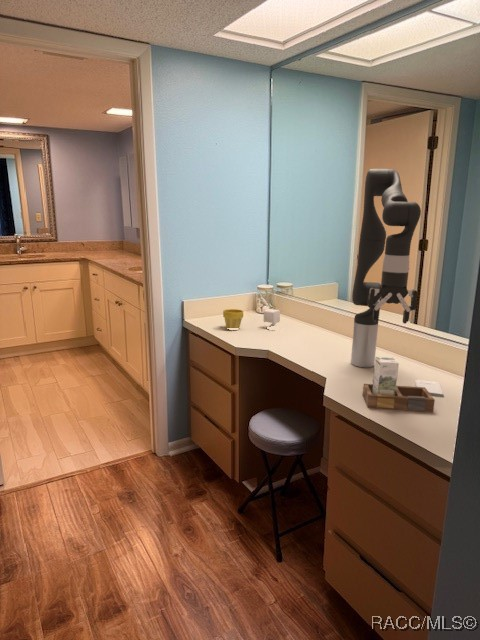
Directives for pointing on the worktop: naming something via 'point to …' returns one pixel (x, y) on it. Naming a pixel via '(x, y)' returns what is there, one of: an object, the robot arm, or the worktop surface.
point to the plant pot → (233, 317)
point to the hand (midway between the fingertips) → (390, 322)
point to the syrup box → (385, 376)
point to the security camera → (272, 316)
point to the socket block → (400, 399)
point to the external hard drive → (430, 387)
